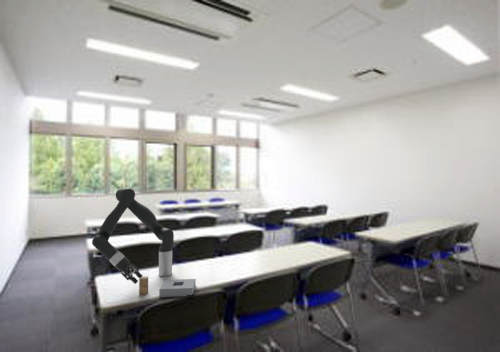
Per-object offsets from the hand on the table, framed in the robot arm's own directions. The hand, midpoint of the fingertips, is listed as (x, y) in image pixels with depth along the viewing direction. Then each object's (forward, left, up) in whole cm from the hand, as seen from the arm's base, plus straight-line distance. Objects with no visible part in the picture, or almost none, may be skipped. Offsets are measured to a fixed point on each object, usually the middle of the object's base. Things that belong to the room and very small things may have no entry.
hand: (139, 279), depth 160 cm
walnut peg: (0, +3, -8) cm, 9 cm away
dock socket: (-2, +23, -8) cm, 24 cm away
